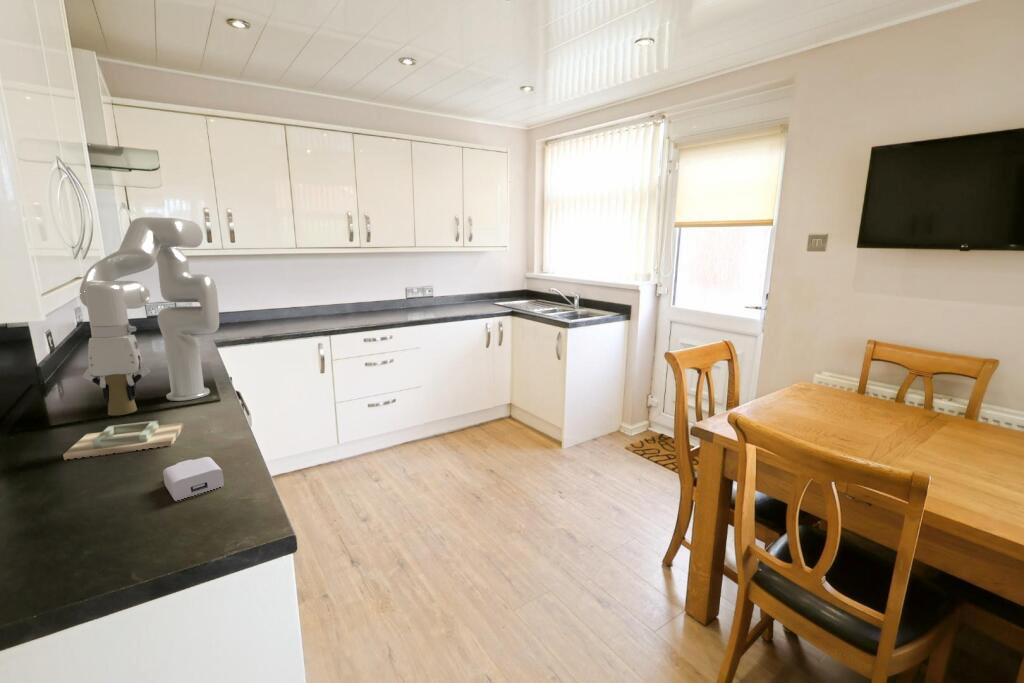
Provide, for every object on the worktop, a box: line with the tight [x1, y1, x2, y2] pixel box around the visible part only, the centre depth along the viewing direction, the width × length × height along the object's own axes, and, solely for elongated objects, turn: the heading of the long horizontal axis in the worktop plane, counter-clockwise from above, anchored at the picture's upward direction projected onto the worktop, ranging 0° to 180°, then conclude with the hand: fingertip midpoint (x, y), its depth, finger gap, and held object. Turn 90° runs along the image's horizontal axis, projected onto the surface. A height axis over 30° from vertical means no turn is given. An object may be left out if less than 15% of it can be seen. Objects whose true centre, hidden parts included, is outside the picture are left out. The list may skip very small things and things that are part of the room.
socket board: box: [62, 420, 185, 461], centre depth 125 cm, size 14×22×4 cm, turn 114°
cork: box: [105, 374, 138, 416], centre depth 122 cm, size 6×6×11 cm
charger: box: [162, 456, 225, 502], centre depth 104 cm, size 5×9×15 cm
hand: (121, 399), depth 123 cm, fingers closed on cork, 3 cm apart
